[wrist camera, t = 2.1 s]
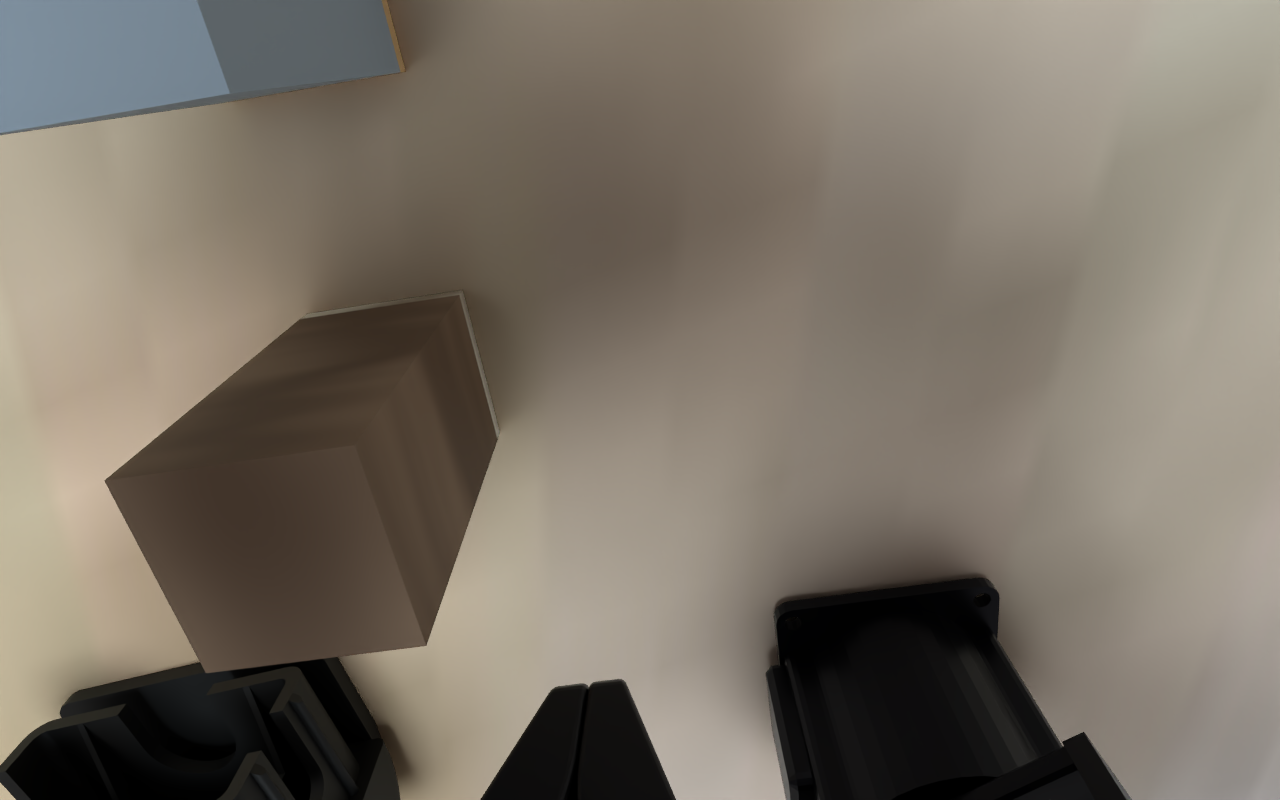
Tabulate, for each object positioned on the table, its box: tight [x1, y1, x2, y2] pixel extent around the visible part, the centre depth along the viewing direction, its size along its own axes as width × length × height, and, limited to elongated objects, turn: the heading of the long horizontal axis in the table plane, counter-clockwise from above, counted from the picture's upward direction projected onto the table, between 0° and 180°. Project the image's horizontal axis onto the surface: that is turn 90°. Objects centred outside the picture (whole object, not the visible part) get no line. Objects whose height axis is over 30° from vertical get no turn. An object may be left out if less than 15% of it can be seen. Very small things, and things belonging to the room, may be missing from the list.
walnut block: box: [105, 290, 500, 673], centre depth 16 cm, size 4×4×8 cm
